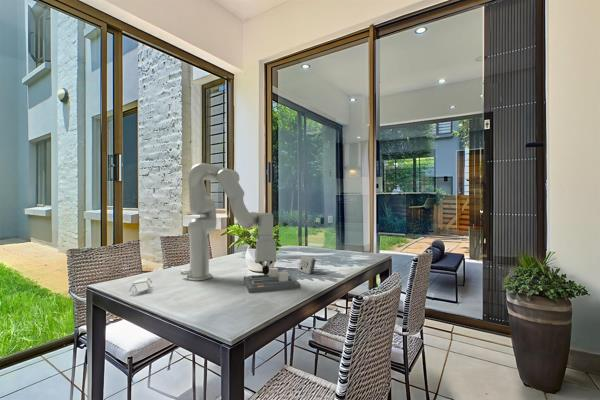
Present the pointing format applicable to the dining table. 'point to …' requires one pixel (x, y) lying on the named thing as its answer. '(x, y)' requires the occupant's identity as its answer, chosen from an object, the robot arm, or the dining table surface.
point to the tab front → (282, 276)
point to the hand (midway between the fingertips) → (265, 274)
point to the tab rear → (273, 272)
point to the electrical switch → (306, 264)
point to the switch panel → (269, 283)
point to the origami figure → (141, 282)
